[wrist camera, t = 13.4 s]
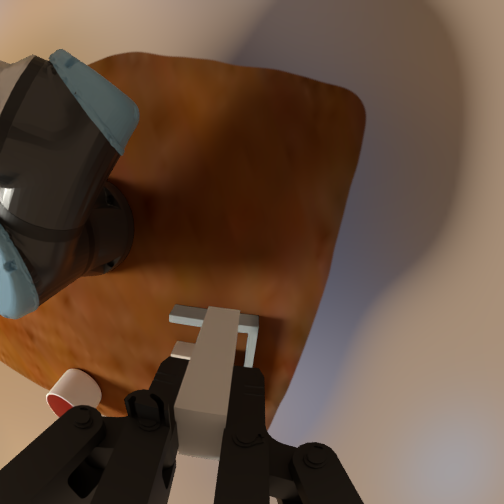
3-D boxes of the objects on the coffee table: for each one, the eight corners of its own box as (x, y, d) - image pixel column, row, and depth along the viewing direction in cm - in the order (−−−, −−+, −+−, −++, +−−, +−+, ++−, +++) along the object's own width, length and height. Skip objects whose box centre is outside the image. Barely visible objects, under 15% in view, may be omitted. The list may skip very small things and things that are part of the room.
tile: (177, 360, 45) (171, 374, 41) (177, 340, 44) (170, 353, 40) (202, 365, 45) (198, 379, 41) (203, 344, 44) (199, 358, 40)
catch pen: (177, 386, 47) (172, 399, 43) (175, 304, 42) (169, 314, 39) (245, 397, 47) (245, 410, 44) (258, 315, 42) (258, 327, 39)
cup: (76, 359, 47) (53, 387, 37) (110, 391, 49) (92, 422, 39) (61, 375, 48) (41, 400, 39) (92, 404, 50) (75, 432, 41)
